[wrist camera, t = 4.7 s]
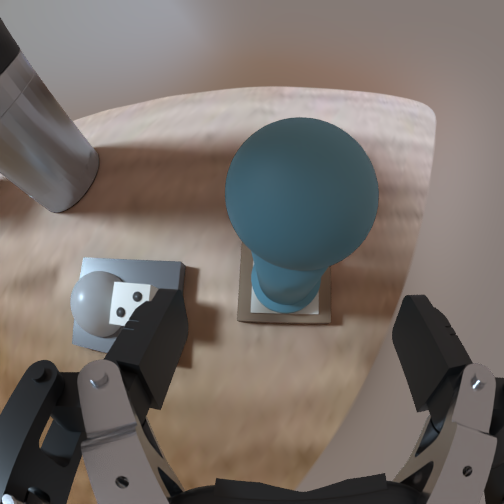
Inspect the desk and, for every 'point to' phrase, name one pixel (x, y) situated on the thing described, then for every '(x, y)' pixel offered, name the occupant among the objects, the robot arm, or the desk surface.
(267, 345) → the desk surface
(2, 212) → the desk surface
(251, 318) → the track board
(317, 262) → the pawn
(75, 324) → the die tray
